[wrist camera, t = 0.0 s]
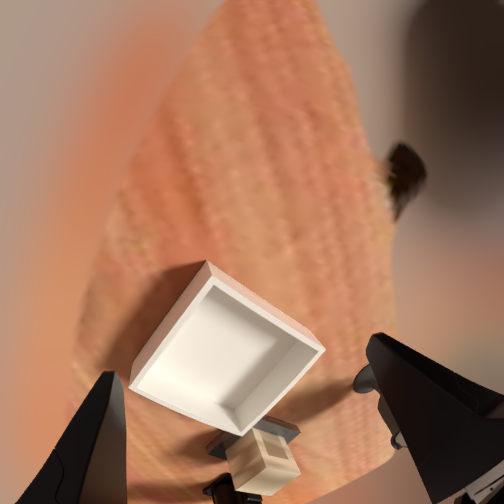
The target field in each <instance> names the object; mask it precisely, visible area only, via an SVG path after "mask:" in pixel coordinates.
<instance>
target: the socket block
mask: <svg viewBox="0 0 504 504" xmlns="http://www.w3.org/2000/svg"><path fill="white" fill-rule="evenodd" d="M225 452H226V456H227V460H228V464H229V468H230V472H231V476H232V480H233V483H234V487H235V490H236V491H241V492H247V493H254V494H261V495H269V496H271V495H273V494H274V493H276V492H277V491H278V490H280V489H281V488H283V487H284V486H285V485H287V484H288V483H290V482H291V481H292V480H294V479H295V478H296V477H298V476H299V475H300V474H301V473H300V470H299V468H298V466H297V464H296V462H295V460H294V458H293V456H292V454H291V452H290V450H289V448H288V445H287V443H286V441H285V439H284V437H281V436H277V435H274V434H271V433H268V432H264V431H261V430H258V429H255V428H251V429H250V430H249V431H247V432H246V433H245V434H244V435H243V436H242V437H241V438H239V439H238V440H237V441H236V442H235V443H234V444H233V445H232V446H231V447H229V448H228V449H227V450H226V451H225Z"/></svg>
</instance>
